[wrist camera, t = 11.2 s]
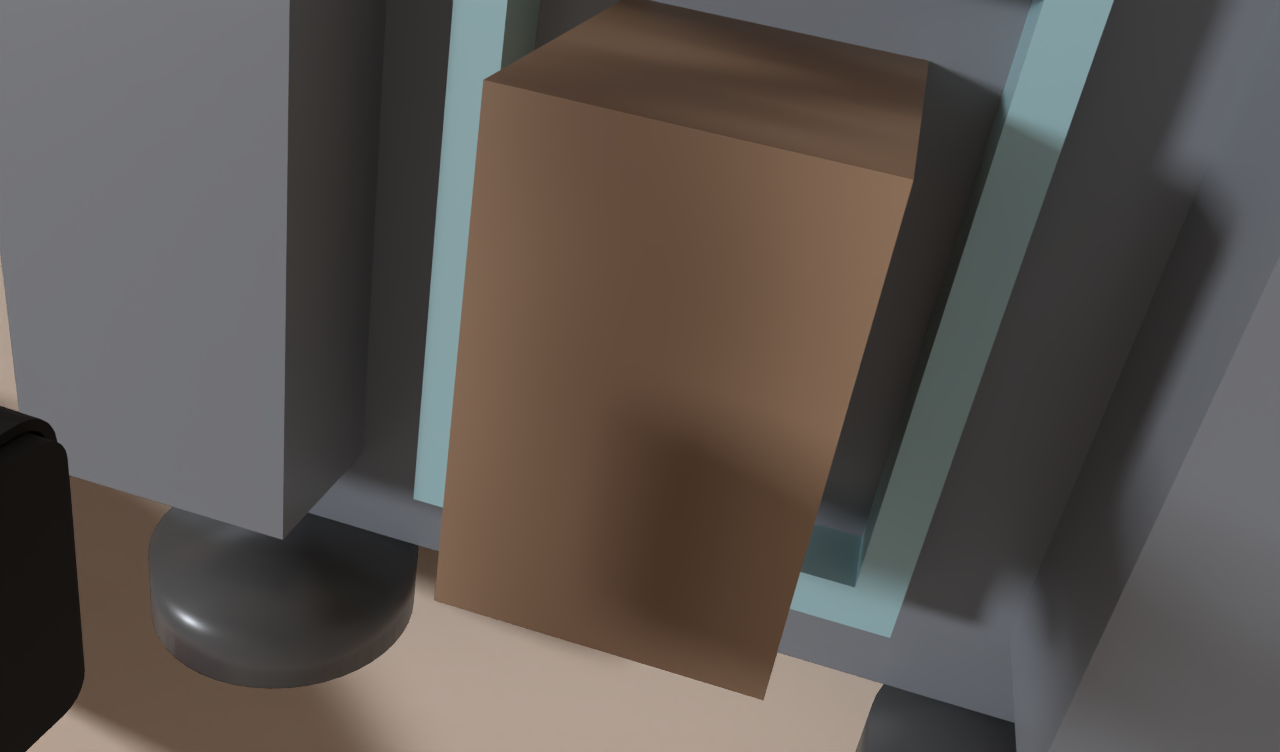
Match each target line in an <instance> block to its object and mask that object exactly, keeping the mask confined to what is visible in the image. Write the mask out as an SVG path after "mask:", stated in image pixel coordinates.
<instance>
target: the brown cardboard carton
mask: <svg viewBox="0 0 1280 752" xmlns="http://www.w3.org/2000/svg"><path fill="white" fill-rule="evenodd" d="M928 64H929V61H928V60H923V59H919V58H914V57H910V56H905V55H900V54H896V53H891V52H886V51H882V50H877V49H873V48H868V47H863V46H859V45H854V44H850V43H845V42H840V41H836V40H831V39H826V38H822V37H817V36H813V35H808V34H803V33H799V32H794V31H790V30H785V29H780V28H776V27H771V26H766V25H762V24H757V23H753V22H748V21H743V20H739V19H734V18H730V17H725V16H720V15H716V14H711V13H706V12H702V11H697V10H693V9H688V8H683V7H679V6H674V5H669V4H665V3H660V2H656V1H651V0H621V1H620V2H618V3H616V4H614V5H613V6H611V7H609V8H608V9H606V10H604V11H602V12H601V13H599V14H597V15H595V16H594V17H592V18H590V19H588V20H587V21H585V22H583V23H581V24H580V25H578V26H576V27H574V28H573V29H571V30H569V31H567V32H566V33H564V34H562V35H560V36H559V37H557V38H555V39H554V40H552V41H550V42H548V43H547V44H545V45H543V46H541V47H540V48H538V49H536V50H534V51H533V52H531V53H529V54H527V55H526V56H524V57H522V58H520V59H519V60H517V61H515V62H513V63H512V64H510V65H508V66H507V67H505V68H503V69H501V70H500V71H498V72H496V73H494V74H493V75H491V76H489V77H487V78H486V79H484V80H483V88H482V99H481V109H480V120H479V130H478V141H477V152H476V162H475V173H474V184H473V194H472V205H471V215H470V226H469V237H468V247H467V258H466V268H465V279H464V290H463V300H462V311H461V322H460V332H459V343H458V353H457V364H456V375H455V385H454V396H453V407H452V417H451V428H450V438H449V449H448V460H447V470H446V481H445V491H444V502H443V513H442V523H441V534H440V545H439V555H438V566H437V576H436V587H435V598H434V600H435V601H438V602H441V603H445V604H448V605H451V606H455V607H458V608H461V609H464V610H468V611H471V612H474V613H478V614H481V615H484V616H488V617H491V618H494V619H497V620H501V621H504V622H507V623H511V624H514V625H517V626H520V627H524V628H527V629H530V630H534V631H537V632H540V633H544V634H547V635H550V636H553V637H557V638H560V639H563V640H567V641H570V642H573V643H576V644H580V645H583V646H586V647H590V648H593V649H596V650H600V651H603V652H606V653H609V654H613V655H616V656H619V657H623V658H626V659H629V660H633V661H636V662H639V663H642V664H646V665H649V666H652V667H656V668H659V669H662V670H665V671H669V672H672V673H675V674H679V675H682V676H685V677H689V678H692V679H695V680H698V681H702V682H705V683H708V684H712V685H715V686H718V687H722V688H725V689H728V690H731V691H735V692H738V693H741V694H745V695H748V696H751V697H754V698H758V699H761V700H764V696H765V693H766V689H767V686H768V682H769V679H770V675H771V672H772V668H773V665H774V662H775V658H776V655H777V651H778V648H779V644H780V641H781V637H782V634H783V630H784V627H785V623H786V620H787V617H788V613H789V610H790V606H791V603H792V599H793V596H794V592H795V589H796V585H797V582H798V578H799V575H800V572H801V568H802V565H803V561H804V558H805V554H806V551H807V547H808V544H809V540H810V537H811V533H812V530H813V527H814V523H815V520H816V516H817V513H818V509H819V506H820V502H821V499H822V495H823V492H824V488H825V485H826V482H827V478H828V475H829V471H830V468H831V464H832V461H833V457H834V454H835V450H836V447H837V443H838V440H839V437H840V433H841V430H842V426H843V423H844V419H845V416H846V412H847V409H848V405H849V402H850V398H851V395H852V391H853V388H854V385H855V381H856V378H857V374H858V371H859V367H860V364H861V360H862V357H863V353H864V350H865V346H866V343H867V340H868V336H869V333H870V329H871V326H872V322H873V319H874V315H875V312H876V308H877V305H878V301H879V298H880V295H881V291H882V288H883V284H884V281H885V277H886V274H887V270H888V267H889V263H890V260H891V256H892V253H893V250H894V246H895V243H896V239H897V236H898V232H899V229H900V225H901V222H902V218H903V215H904V211H905V208H906V205H907V201H908V198H909V194H910V191H911V187H912V184H913V180H914V173H915V165H916V158H917V150H918V142H919V134H920V126H921V119H922V111H923V103H924V95H925V87H926V79H927V72H928Z"/></svg>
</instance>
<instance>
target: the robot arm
mask: <svg viewBox="0 0 1280 752" xmlns="http://www.w3.org/2000/svg"><path fill="white" fill-rule="evenodd" d="M84 672H85V668H84V656H83V643H82V631H81V618H80V605H79V593H78V580H77V568H76V555H75V542H74V530H73V517H72V504H71V492H70V479H69V467H68V457H67V453H66V450H65V448H64V447H63V446H62V444H60V443H58V442H57V438H56V434H55V431H54V430H53V428H52V427H51V425H50V424H49V423H48V422H46V421H44V420H42V419H39V418H36V417H33V416H30V415H26V414H23V413H20V412H17V411H14V410H11V409H7V408H4V407H1V406H0V752H26V751H27V750H28V749H29V748H30V747H31V746H32V745H33V744H34V743H35V742H36V741H37V740H38V739H39V738H40V737H41V736H42V735H44V734H45V733H46V732H47V731H48V730H49V729H50V728H51V727H52V726H53V725H54V724H55V723H56V722H57V721H58V720H59V719H60V718H61V717H63V716H64V715H65V713H66V712H67V711H68V710H69V709H70V708H71V706H72V705H73V703H74V702H75V700H76V699H77V697H78V695H79V692H80V690H81V688H82V684H83V681H84Z"/></svg>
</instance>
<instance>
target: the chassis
mask: <svg viewBox="0 0 1280 752" xmlns="http://www.w3.org/2000/svg"><path fill="white" fill-rule="evenodd" d="M620 1H621V0H0V253H1V262H2V270H3V279H4V287H5V296H6V304H7V313H8V321H9V330H10V338H11V347H12V355H13V363H14V372H15V380H16V389H17V397H18V406H19V412H20V413H23V414H26V415H30V416H33V417H36V418H39V419H42V420H44V421H46V422H48V423H49V424H50V425H51V427H52V428H53V430H54V431H55V434H56V438H57V442H58V443H60V444H62V446H63V447H64V448H65V450H66V453H67V457H68V467H69V475H70V476H73V477H77V478H80V479H83V480H87V481H90V482H93V483H97V484H100V485H103V486H106V487H110V488H113V489H116V490H120V491H123V492H126V493H130V494H133V495H136V496H140V497H143V498H146V499H149V500H153V501H156V502H159V503H163V504H166V505H169V506H173V507H172V508H171V509H170V510H169V511H168V512H167V513H166V514H165V515H164V516H163V518H162V519H161V520H160V522H159V523H158V525H157V526H156V528H155V530H154V532H153V534H152V537H151V540H150V544H149V575H150V592H151V609H152V619H153V624H154V628H155V630H156V633H157V635H158V637H159V639H160V640H161V642H162V643H163V645H164V646H165V648H166V649H167V650H168V651H169V652H170V653H171V654H172V655H173V656H174V657H175V658H176V659H177V660H179V661H180V662H182V663H183V664H184V665H186V666H187V667H189V668H191V669H193V670H194V671H196V672H198V673H200V674H202V675H205V676H207V677H210V678H212V679H215V680H218V681H222V682H226V683H229V684H233V685H239V686H245V687H252V688H269V689H272V688H293V687H301V686H308V685H313V684H317V683H322V682H326V681H329V680H333V679H336V678H339V677H342V676H344V675H347V674H349V673H351V672H354V671H356V670H358V669H360V668H362V667H364V666H365V665H367V664H369V663H371V662H372V661H374V660H375V659H376V658H378V657H379V656H381V655H382V654H383V653H385V652H386V651H387V650H388V649H389V648H390V647H391V646H392V645H393V644H394V643H395V642H396V641H397V639H398V638H399V637H400V636H401V634H402V633H403V631H404V630H405V628H406V626H407V624H408V623H409V620H410V617H411V614H412V610H413V603H414V593H415V581H416V569H417V558H418V545H419V546H422V547H426V548H429V549H432V550H436V551H439V545H440V534H441V523H442V513H443V502H444V491H445V481H446V470H447V460H448V449H449V438H450V428H451V417H452V407H453V396H454V385H455V375H456V364H457V353H458V343H459V332H460V322H461V311H462V300H463V290H464V279H465V268H466V258H467V247H468V237H469V226H470V215H471V205H472V194H473V184H474V173H475V162H476V152H477V141H478V130H479V120H480V109H481V99H482V88H483V80H484V79H486V78H487V77H489V76H491V75H493V74H494V73H496V72H498V71H500V70H501V69H503V68H505V67H507V66H508V65H510V64H512V63H513V62H515V61H517V60H519V59H520V58H522V57H524V56H526V55H527V54H529V53H531V52H533V51H534V50H536V49H538V48H540V47H541V46H543V45H545V44H547V43H548V42H550V41H552V40H554V39H555V38H557V37H559V36H560V35H562V34H564V33H566V32H567V31H569V30H571V29H573V28H574V27H576V26H578V25H580V24H581V23H583V22H585V21H587V20H588V19H590V18H592V17H594V16H595V15H597V14H599V13H601V12H602V11H604V10H606V9H608V8H609V7H611V6H613V5H614V4H616V3H618V2H620ZM651 1H656V2H660V3H665V4H669V5H674V6H679V7H683V8H688V9H693V10H697V11H702V12H706V13H711V14H716V15H720V16H725V17H730V18H734V19H739V20H743V21H748V22H753V23H757V24H762V25H766V26H771V27H776V28H780V29H785V30H790V31H794V32H799V33H803V34H808V35H813V36H817V37H822V38H826V39H831V40H836V41H840V42H845V43H850V44H854V45H859V46H863V47H868V48H873V49H877V50H882V51H886V52H891V53H896V54H900V55H905V56H910V57H914V58H919V59H923V60H928V61H929V64H928V72H927V79H926V87H925V95H924V103H923V111H922V119H921V126H920V134H919V142H918V150H917V158H916V165H915V173H914V180H913V184H912V187H911V191H910V194H909V198H908V201H907V205H906V208H905V211H904V215H903V218H902V222H901V225H900V229H899V232H898V236H897V239H896V243H895V246H894V250H893V253H892V256H891V260H890V263H889V267H888V270H887V274H886V277H885V281H884V284H883V288H882V291H881V295H880V298H879V301H878V305H877V308H876V312H875V315H874V319H873V322H872V326H871V329H870V333H869V336H868V340H867V343H866V346H865V350H864V353H863V357H862V360H861V364H860V367H859V371H858V374H857V378H856V381H855V385H854V388H853V391H852V395H851V398H850V402H849V405H848V409H847V412H846V416H845V419H844V423H843V426H842V430H841V433H840V437H839V440H838V443H837V447H836V450H835V454H834V457H833V461H832V464H831V468H830V471H829V475H828V478H827V482H826V485H825V488H824V492H823V495H822V499H821V502H820V506H819V509H818V513H817V516H816V520H815V523H814V527H813V530H812V533H811V537H810V540H809V544H808V547H807V551H806V554H805V558H804V561H803V565H802V568H801V572H800V575H799V578H798V582H797V585H796V589H795V592H794V596H793V599H792V603H791V606H790V610H789V613H788V617H787V620H786V623H785V627H784V630H783V634H782V637H781V641H780V644H779V648H778V651H777V652H778V653H782V654H785V655H788V656H792V657H795V658H798V659H802V660H805V661H808V662H812V663H815V664H819V665H822V666H825V667H829V668H832V669H835V670H839V671H842V672H845V673H849V674H852V675H856V676H859V677H862V678H866V679H869V680H872V681H876V682H879V683H882V684H884V685H883V686H882V688H881V689H880V690H879V692H878V693H877V695H876V697H875V699H874V702H873V704H872V707H871V710H870V712H869V715H868V718H867V721H866V724H865V727H864V729H863V732H862V735H861V738H860V741H859V743H858V746H857V749H856V752H1280V0H651Z"/></svg>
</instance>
